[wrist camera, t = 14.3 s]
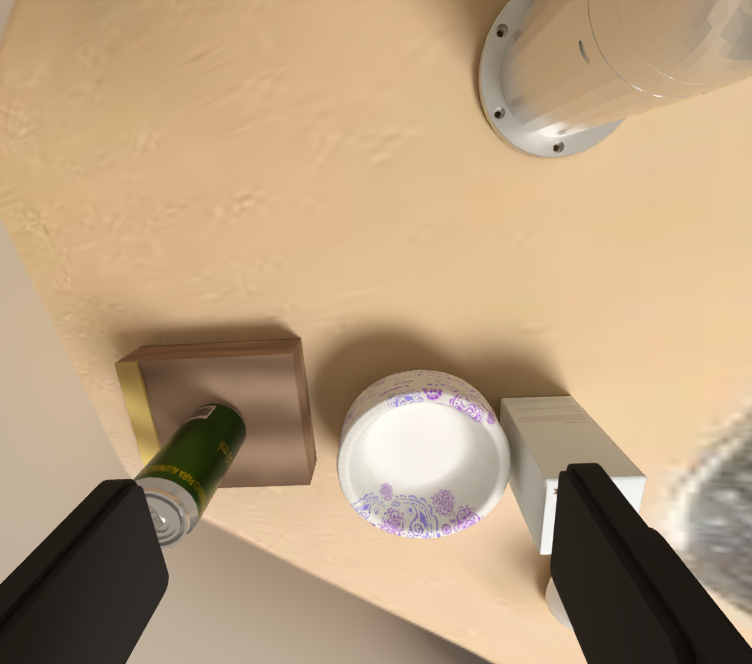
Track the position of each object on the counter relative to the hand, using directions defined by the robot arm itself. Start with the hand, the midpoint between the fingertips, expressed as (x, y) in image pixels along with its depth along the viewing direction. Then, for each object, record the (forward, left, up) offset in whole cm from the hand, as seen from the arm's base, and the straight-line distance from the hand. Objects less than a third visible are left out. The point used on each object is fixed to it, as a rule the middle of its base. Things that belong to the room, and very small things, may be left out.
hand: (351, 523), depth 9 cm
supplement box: (+17, +15, -31) cm, 38 cm away
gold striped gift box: (+13, -16, -30) cm, 37 cm away
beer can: (+13, -16, -26) cm, 33 cm away
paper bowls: (+16, +3, -31) cm, 35 cm away
